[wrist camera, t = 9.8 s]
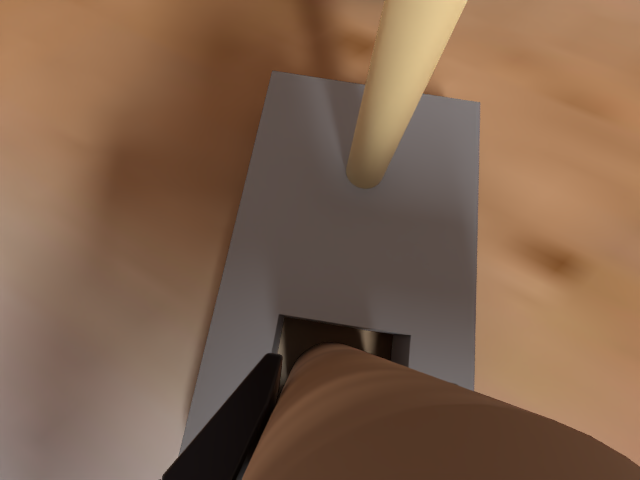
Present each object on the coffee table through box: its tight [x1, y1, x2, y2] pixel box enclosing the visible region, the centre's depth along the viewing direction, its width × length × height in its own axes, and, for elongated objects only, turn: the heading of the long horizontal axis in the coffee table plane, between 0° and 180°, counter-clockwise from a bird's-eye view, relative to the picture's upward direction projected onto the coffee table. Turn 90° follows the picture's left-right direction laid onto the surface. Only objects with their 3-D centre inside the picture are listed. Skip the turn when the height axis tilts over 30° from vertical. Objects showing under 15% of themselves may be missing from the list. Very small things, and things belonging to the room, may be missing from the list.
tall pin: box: [242, 342, 640, 480], centre depth 8 cm, size 4×4×14 cm
